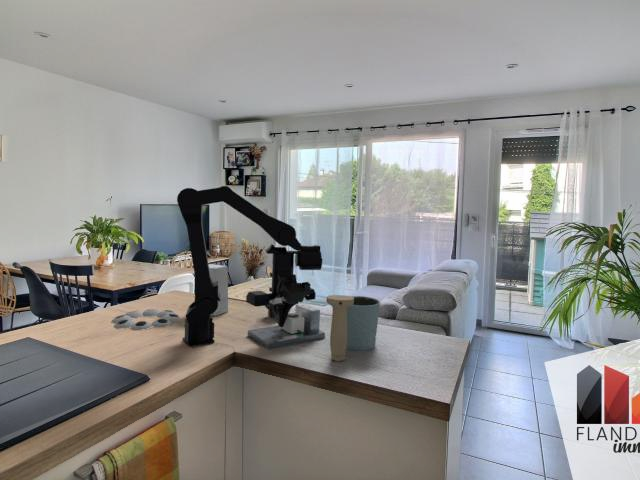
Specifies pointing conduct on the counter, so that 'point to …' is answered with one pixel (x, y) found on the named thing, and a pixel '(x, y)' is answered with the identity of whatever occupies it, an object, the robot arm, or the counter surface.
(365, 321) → the teal cup
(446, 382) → the counter surface
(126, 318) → the grey flat openwork piece
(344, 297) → the handle
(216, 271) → the skincare box
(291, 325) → the white box with dome
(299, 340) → the bench
